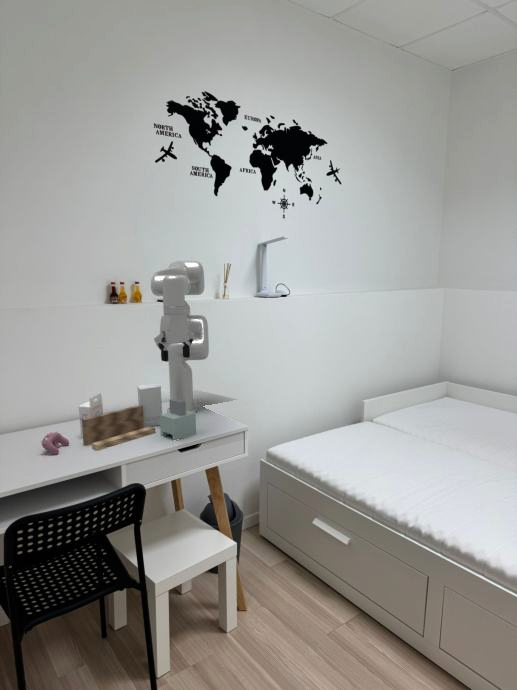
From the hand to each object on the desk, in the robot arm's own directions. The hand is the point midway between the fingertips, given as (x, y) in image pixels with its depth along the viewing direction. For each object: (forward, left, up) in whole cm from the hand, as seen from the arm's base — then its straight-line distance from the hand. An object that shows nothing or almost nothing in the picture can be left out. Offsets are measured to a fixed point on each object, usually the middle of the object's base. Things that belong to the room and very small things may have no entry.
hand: (175, 359), depth 178 cm
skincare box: (-1, -18, -28) cm, 34 cm away
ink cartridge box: (+20, -25, -28) cm, 43 cm away
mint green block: (0, 0, -28) cm, 28 cm away
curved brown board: (+16, -13, -28) cm, 35 cm away
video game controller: (+37, -20, -28) cm, 50 cm away
